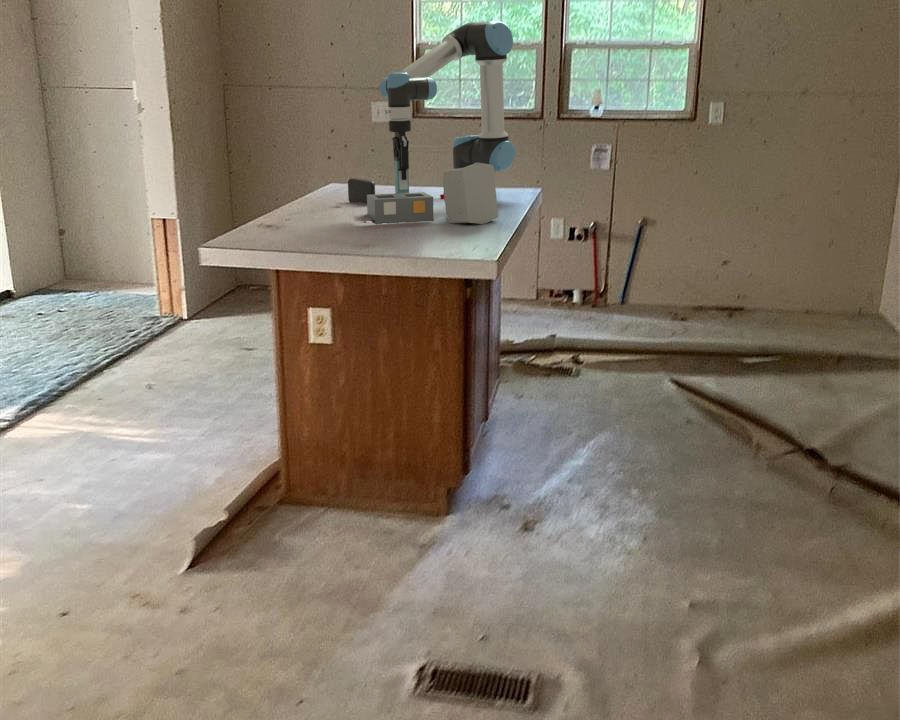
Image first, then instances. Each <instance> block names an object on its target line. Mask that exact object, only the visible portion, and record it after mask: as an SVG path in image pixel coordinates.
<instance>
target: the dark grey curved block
mask: <svg viewBox="0 0 900 720" xmlns="http://www.w3.org/2000/svg"><path fill="white" fill-rule="evenodd" d="M347 188H348V189H347V194H348V196H347V197H348V198H347V199H348V202H349V203H364V204H367V195H373V194H376V183H375V181H373V180H371V179H367V178H356V177H355V178H354V177H353V178H349V179H348V180H347Z"/></svg>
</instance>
